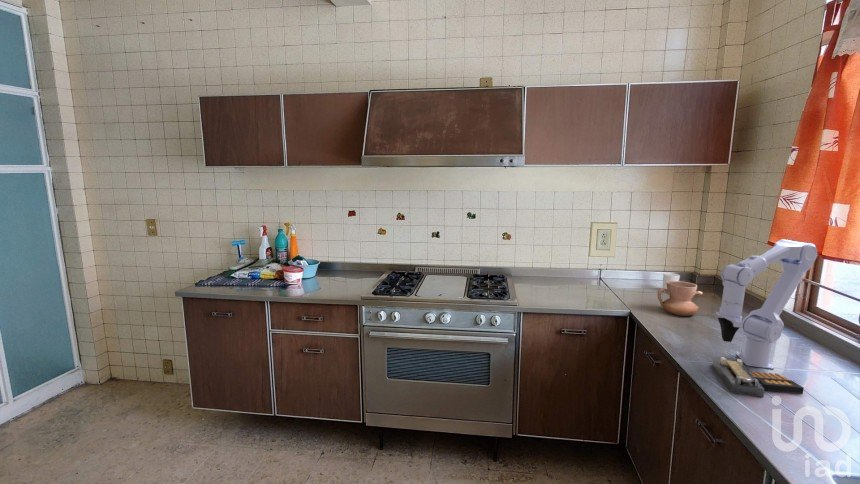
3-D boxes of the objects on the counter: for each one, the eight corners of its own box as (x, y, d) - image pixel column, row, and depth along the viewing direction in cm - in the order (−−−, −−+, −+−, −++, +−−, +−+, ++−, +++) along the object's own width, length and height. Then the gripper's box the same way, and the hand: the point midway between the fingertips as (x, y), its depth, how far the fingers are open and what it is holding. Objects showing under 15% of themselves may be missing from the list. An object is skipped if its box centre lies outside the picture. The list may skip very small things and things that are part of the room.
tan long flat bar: (725, 362, 140) (725, 359, 140) (735, 364, 139) (736, 360, 139) (741, 382, 126) (742, 379, 126) (753, 384, 125) (754, 380, 125)
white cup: (658, 290, 235) (660, 273, 233) (669, 289, 237) (671, 272, 236) (669, 294, 228) (672, 276, 226) (681, 293, 230) (683, 275, 228)
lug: (720, 362, 141) (720, 356, 141) (739, 365, 139) (740, 359, 139) (721, 364, 139) (722, 359, 139) (742, 367, 137) (742, 361, 137)
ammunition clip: (803, 393, 126) (777, 376, 138) (804, 387, 126) (778, 370, 138) (763, 389, 128) (741, 373, 140) (763, 384, 128) (742, 367, 140)
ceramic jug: (696, 310, 201) (699, 281, 199) (703, 320, 188) (706, 289, 186) (654, 306, 208) (656, 278, 206) (657, 315, 195) (660, 285, 192)
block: (712, 364, 145) (713, 353, 144) (739, 368, 142) (741, 356, 141) (731, 392, 127) (733, 378, 126) (763, 397, 124) (765, 383, 124)
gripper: (711, 294, 147) (706, 331, 150) (725, 306, 134) (719, 347, 136) (735, 296, 145) (729, 334, 147) (752, 309, 132) (745, 350, 134)
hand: (726, 340), depth 142 cm, fingers closed
